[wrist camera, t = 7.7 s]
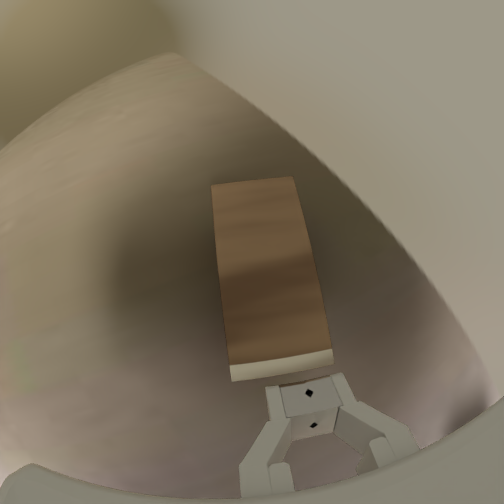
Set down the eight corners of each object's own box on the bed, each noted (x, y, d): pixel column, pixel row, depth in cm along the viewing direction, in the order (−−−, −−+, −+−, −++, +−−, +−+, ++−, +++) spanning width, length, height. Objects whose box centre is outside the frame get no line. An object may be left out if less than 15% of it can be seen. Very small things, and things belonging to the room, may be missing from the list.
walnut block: (334, 364, 12) (292, 176, 16) (231, 381, 12) (210, 185, 16) (313, 363, 17) (284, 216, 21) (237, 375, 16) (219, 224, 21)
